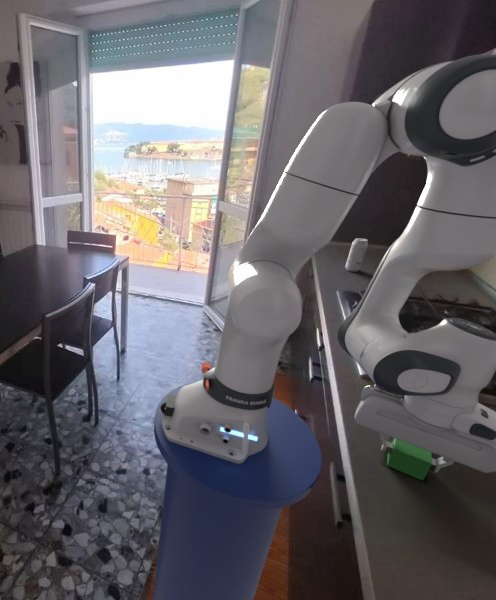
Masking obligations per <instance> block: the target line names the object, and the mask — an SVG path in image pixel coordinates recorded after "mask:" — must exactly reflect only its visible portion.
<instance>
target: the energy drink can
mask: <svg viewBox="0 0 496 600" xmlns="http://www.w3.org/2000/svg"><path fill="white" fill-rule="evenodd" d="M368 247H369V242H368V239H367V238H361V237H356V238H354V240H353V241H352V243H351V247H350V249H349V253H348V256H347V259H346V263H345V270H346V271H348V272H353V273H354V272H355V273H357V272H359V271H360V270H361V269H362V265H363V262H364V258H365V256H366V252H367V250H368Z"/></svg>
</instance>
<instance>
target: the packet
mask: <svg viewBox="0 0 496 600" xmlns="http://www.w3.org/2000/svg"><path fill="white" fill-rule="evenodd" d="M392 439H393V440H392V441H391V442H392V443H393V449H392V451H391V454H388V453H387V457H386V466H387V467H389V468H392V469H394V470H396V471H399V472H401V473H404V474H406V475H408V476H411V477H413V478H415V479H418V480H421V481H424V480H425V479H426V476H427V475H428V473H429V471H430V470H429V469H430V467H431V465H432V458H433V456H432V454H433V453H432V452H429V451H427V450H424V449H421V448H419V447H416V446H413V445H411V444H408V443H406V442H403V441H400V440H398V439H395V438H392Z"/></svg>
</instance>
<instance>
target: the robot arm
mask: <svg viewBox="0 0 496 600" xmlns="http://www.w3.org/2000/svg"><path fill="white" fill-rule="evenodd" d="M396 153H401V154H405V155H409V156H414V157H415V156H417V157H423V158H424V160H425V163H426V167H427V175H426V181H425V182H426V183H425V185H424V187H423V190H422V192H421V193H420V196H419V198H418V201H417V202H416V205H415V208H414V210H413V212H412V215H411V217H410V219H409V221H408V222H407V225H406V226H405V229H404V230H403V232H402V234H400V236H399V237H398V238H397V239H395V241H393V243H392V244H391V245H390V246H389V248H388V249H387V251H386V252H385V254H384V256H383V257H382V259H381V260H380V262H379V265H378V266H377V268H376V270H375V273H373V276H372V278H371V280H370V282H369V284H368V286H367V287H366V289H365V292H364V293H363V295H362V296H361V298H360V300H359V302H358V304H357V305H356V307H355V308H354V309H353V310H352V311H351V312H350V314H349V315H347V317H346V318H345V319H344V320H343V322H342V323H341V325H340V326H339V328H338V331H337V341H338V345H339V346H340V348H341V349H342V350H343V351H344V352H345V353H347V355H349V356H350V357H351V358H352V359H353V360H355V362H356V364H357V365H358V366H359V367H360V368H361V370H362V371H363V372H364V373H365V374H366V375H367V376H368V377H369V378H370V379H371V381H372V382H373V383H374V385H366V386H363V388H362V389H361V392H360V394H359V397H360V402H359V404H357V407H356V410H355V413H354V418H353V419H354V420H355V422H356V424H357V425H359V426H361V427H364V428H366V429H369V430H371V431H374V432H377V433H379V439H380V441H381V443H382V444H381V448H380V451H381V452H384V453H386V454H387V455H388V454H391V451H392V449H393V443H392V441H389V440H390V437H391V438H392V439H394V438H395V439H398V440H400V441H403V442H406V443H408V444H411V445H413V446H416V447H419V448H421V449H424V450H427V451H429V452H431V453H432V454H434V455H437V456H439V457H438V458H434V457H432V465H431V467H430V469H429V471H430V472H433V473H434V474H438V473H439V472H440V469H443V468H445V467H448V466H452V465H454V462H456V463H459V464H460V465H462V466H463V465H464V466H465V467H469V468H471V469H473V470H477V471H478V472H482V473H484V474H491V473H496V411H495V410H493V409H491V408H489V407H487V406H486V405H483V404H481V402H480V403H479V398H480V397H479V396H480V393H481V391H482V390H483V389H484V388H486V387H487V386H488V385H489V384H490V382H491V381H492V378H493V377H494V375H495V373H496V333H495V332H493V331H492V330H491V329H489V328H487V327H485V326H484V325H480V324H478V323H475V322H473V321H470V320H468V319H463V318H458V317H445V318H444V319H442V320H441V321H440V322H439V323H438V324H437V325H434V326H432V327H430V328H427V329H424V330H421V331H416V332H411V333H409V332H408V331H407V330H405V328H403V326H402V325H401V322H400V317H399V316H400V312H401V310H402V308H403V307H404V306H405V304H406V302H407V300H408V299H409V297H410V296H411V293H412V292H413V291H414V289H415V287H416V285H417V284H418V282H419V281H420V280H421V279H422V278H423V277H425V276H426V275H428V274H431V273H433V272H454V271H463V270H467V269H471V268H474V267H478V266H481V265H483V264H485V263H487V262H489V261H492V260H493V259H494V258H496V54H490V53H489V54H488V53H485V54H484V53H483V54H473V55H468V56H464V57H461V58H458V59H456V60H451V61H450V60H449V61H443V62H438V63H435V64H431V65H429V66H427V67H425V68H422V69H420V70H418V71H415V72H413V73H410V74H408V75H406V76H403V77H401V78H400V79H398V80H396V81H395V82H393V83H391V84H390V85H388V87H386V88H385V89H383V91H381V92H380V93H379V94H377V96H375V97H374V98H372V99H371V100H370V101H368V102H367V103H366V102H363V101H362V102H361V101H346V102H340V103H337V104H334V105H332V106H329V107H328V108H326V109H325V110H324V111H323V112H322V113H320V115H319V116H318V117H317V119H316V120H315V121H314V123H313V124H312V125H311V127H310V128H309V129H308V131H307V133H306V134H305V135H304V137H303V139H302V140H301V142H300V143H299V145H298V147H297V148H296V149H295V152H294V153H293V155H292V156H291V158H290V160H289V162H288V164H287V166H286V167H285V169H284V172H283V174H282V176H281V177H280V179H279V181H278V184H277V185H276V187H275V189H274V191H273V193H272V194H271V197H270V199H269V201H268V203H267V205H266V207H265V208H264V211H263V213H262V214H261V216H260V219H259V220H258V222H257V223H256V225H255V227H254V228H253V229H252V231H251V233H250V234H249V236H248V237H247V239H246V240H245V242H244V244H243V245H242V247H241V249H240V250H239V252H238V254H237V256H236V257H235V259H234V261H233V262H232V264H231V265H230V268H229V270H228V273H227V287H228V288H227V289H228V290H227V292H228V293H227V294H228V295H227V309H226V314H225V319H224V324H223V328H222V332H221V335H220V338H219V343H218V350H217V356H216V362H215V365H214V367H213V368H212V365H211V363H210V362H207V361H204V362H203V363H201V372H202V374H203V379H201V380H198V381H194V382H195V383H192V382H191V383H192V384H189V385H186V386H183V387H182V388H181V389H180V390H179V392H178V394H177V396H176V395H171V394H168V393H167V394H168V396H167V402H165V403H163V404H162V405H161V411H162V412H163V414H162V429H163V432H164V435H165V436H166V438H167V439H168V440H169V441H170V442H173V443H176V444H179V445H182V446H185V447H188V448H191V449H194V450H197V451H200V452H203V453H206V454H209V455H212V456H215V457H218V458H221V459H224V460H227V461H230V462H234V463H237V464H241V463H243V462H244V461H245V460H246V459H247V458H248V456H250V455H253V454H256V453H258V452H260V451H262V450H263V449H264V448H265V447H266V445H267V443H268V433H267V412H268V408H269V407H270V404H271V402H272V399H273V398H274V394H275V387H276V384H275V383H274V381H275V379H276V378H275V377H276V373H277V370H278V365H279V362H280V357H281V355H282V352H283V349H284V347H285V345H286V343H287V341H288V339H289V338H290V335H292V334H293V333H294V332H296V330H297V329H298V328H299V325H300V324H301V321H302V317H303V316H302V315H303V297H302V293H301V291H300V288H299V286H298V284H297V283H296V280H297V277H298V275H299V273H300V271H301V270H302V269H303V267H304V266H305V265H306V264H307V263H308V262H309V261H310V260H311V258H312V257H313V256H314V255H316V254H317V252H318V251H319V250H321V249H324V247H326V246H328V244H330V242H331V241H332V239H333V238H334V236H335V234H336V233H337V231H338V229H339V228H340V227H341V224H342V223H343V222H344V220H345V218H346V217H347V215H348V213H349V212H350V210H351V209H352V207H353V206H354V203H355V202H356V200H357V199H358V197H359V195H360V194H361V192H362V190H363V189H364V187H365V185H366V184H367V182H368V180H369V178H370V177H371V175H372V174H373V173H374V172H375V171H376V170H377V168H379V166H380V165H381V164H382V163H383V162H384V161H386V160H387V159H388V158H389V157H391V156H392V155H394V154H396ZM167 429H168V430H167ZM231 455H232V456H231Z"/></svg>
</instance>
